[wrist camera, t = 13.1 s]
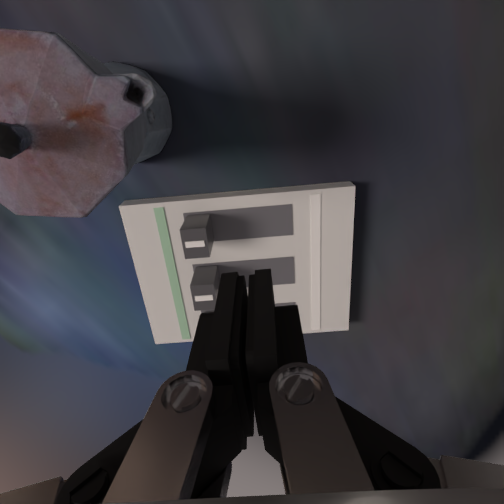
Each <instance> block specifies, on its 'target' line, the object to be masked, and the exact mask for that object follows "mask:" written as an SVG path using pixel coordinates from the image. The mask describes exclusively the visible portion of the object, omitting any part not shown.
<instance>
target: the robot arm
mask: <svg viewBox="0 0 504 504" xmlns="http://www.w3.org/2000/svg"><path fill="white" fill-rule="evenodd" d="M254 411H255V417H256V422H257V428H258V434H259V436H263V440H264V446H265V450H266V451H267V452H268V453H269V454H270V455H271V456H272V457H274V459H276V460H277V461H278V462H279V463H280V469H281V474H282V479H283V484H284V489H285V494H286V495H268V496H247V497H226V496H227V491H228V486H229V481H230V477H231V471H232V462H231V461H232V460H233V459H234V458H235V457H236V456H237V455H238V454H239V453H240V452H241V450H243V449H244V450H245V449H246V448H247V437H250V436H253V434H254ZM0 504H504V465H498V464H492V463H486V462H480V461H474V460H468V459H462V458H456V457H450V456H444V455H441V457H440V460H439V459H433V458H427V457H426V456H425V455H424V454H423V453H421V452H420V451H419V450H418V449H417V448H415V447H414V446H412V445H410V444H409V443H407V442H406V441H404V440H403V439H401V438H399V437H398V436H396V435H395V434H393V433H392V432H390V431H388V430H387V429H385V428H384V427H382V426H381V425H379V424H377V423H376V422H374V421H373V420H371V419H370V418H368V417H366V416H365V415H363V414H362V413H360V412H359V411H357V410H356V409H354V408H352V407H351V406H349V405H348V404H346V403H345V402H343V401H341V400H340V399H338V398H337V397H335V396H334V393H333V391H332V389H331V386H330V384H329V382H328V379H327V378H326V376H325V375H324V373H323V372H322V371H321V370H320V369H318V368H317V367H315V366H313V365H311V364H308V362H307V356H306V350H305V344H304V339H303V333H302V327H301V321H300V315H299V310H298V305H287V306H275V301H274V292H273V283H272V274H271V269H260V270H255V274H252V275H249V285H248V294H247V287H246V281H245V276H244V275H242V276H239V274H238V272H229V273H222V274H221V278H220V284H219V289H218V294H217V299H216V305H215V310H214V312H208V313H201V314H200V316H199V320H198V324H197V328H196V332H195V336H194V340H193V344H192V348H191V352H190V356H189V360H188V364H187V368H186V371H183V372H180V373H177V374H175V375H173V376H172V377H170V378H168V379H167V380H166V381H165V382H164V383H163V384H162V385H161V387H160V388H159V389H158V391H157V393H156V395H155V397H154V399H153V401H152V403H151V405H150V407H149V409H148V411H147V413H146V415H145V417H144V419H143V420H142V421H140V422H139V423H138V424H136V425H135V426H134V427H132V428H131V429H130V430H128V431H127V432H126V433H124V434H123V435H122V436H120V437H119V438H118V439H116V440H115V441H114V442H112V443H111V444H110V445H108V446H107V447H106V448H105V449H103V450H102V451H101V452H99V453H98V454H97V455H95V456H94V457H93V458H91V459H90V460H89V461H87V462H86V463H85V464H84V465H82V466H81V467H80V468H79V469H77V470H76V471H75V472H74V473H73V474H72V475H71V476H70V477H69V478H68V479H66V480H63V478H62V477H61V476H59V477H56V478H53V479H49V480H46V481H42V482H39V483H36V484H32V485H28V486H25V487H22V488H18V489H15V490H11V491H8V492H4V493H1V494H0Z"/></svg>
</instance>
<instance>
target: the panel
mask: <svg viewBox="0 0 504 504" xmlns="http://www.w3.org/2000/svg"><path fill="white" fill-rule="evenodd" d="M354 207H355V185H354V184H353V183H352V182H350V181H347V182H335V183H323V184H312V185H300V186H288V187H277V188H265V189H253V190H241V191H230V192H218V193H206V194H195V195H183V196H171V197H159V198H148V199H136V200H125V201H124V202H123V203H122V204H121V205H120V206H119V209H120V213H121V217H122V220H123V224H124V228H125V231H126V235H127V239H128V243H129V246H130V250H131V254H132V258H133V261H134V265H135V269H136V273H137V276H138V280H139V284H140V288H141V291H142V295H143V299H144V303H145V306H146V310H147V314H148V318H149V321H150V325H151V329H152V333H153V336H154V340H155V344H162V343H176V342H190V341H193V340H194V336H195V332H196V328H197V324H198V320H199V316H200V314H201V313H204V312H208V311H214V310H215V309H213V310H200V311H195V310H194V305H193V300H192V295H191V290H190V284H191V281H192V277H193V274H194V271H195V267H203V266H215V265H217V267H218V274H219V281H220V278H221V274H222V273H229V272H238V274H239V276H242V275H244V276H245V281H246V287H247V294H248V285H249V275H252V274H255V270H260V269H271V274H272V283H273V292H274V301H275V306H287V305H298V310H299V315H300V321H301V327H302V333H315V332H329V331H342V330H348V329H349V309H350V289H351V268H352V248H353V227H354ZM199 214H210V217H211V223H212V230H213V237H214V242H213V247H212V251H211V255H210V257H206V258H194V259H185V256H184V251H183V246H182V241H181V235H180V228H181V226H182V224H183V222H184V220H185V218H186V216H187V215H199Z"/></svg>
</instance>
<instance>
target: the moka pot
mask: <svg viewBox="0 0 504 504" xmlns="http://www.w3.org/2000/svg"><path fill="white" fill-rule="evenodd" d="M172 127H173V126H172V115H171V109H170V105H169V100H168V97H167V95H166V93H165V92H164V91H163V89H162V88H161V87H160V86H159V84H158V83H157V82H156V81H155V80H154V79H153V78H152V77H151V76H150V75H149V74H148V73H147V72H146V71H145V70H142V69H140V68H137V67H133V66H130V65H127V64H122V63H119V62H114V61H113V62H107V63H101V62H100V61H98V60H97V59H95V58H94V57H92V56H91V55H89V54H88V53H86V52H84V51H83V50H81V49H80V48H79V47H77V46H76V45H74V44H73V43H71V42H70V41H68V40H67V39H66V38H64V37H63V36H62V35H60V34H58V33H56V32H42V31H28V30H15V29H2V28H0V203H1V204H2V205H4V206H5V207H6V208H8V209H9V210H10V211H12V212H13V213H15V214H16V215H27V216H52V217H80V218H81V217H87V216H88V215H89V214H90V213H91V212H92V210H93V209H94V208H95V207H96V206H97V205H98V204H99V203H100V202H101V201H102V200H103V199H104V198H105V197H106V196H107V195H108V194H109V193H110V192H111V191H112V190H113V189H114V188H115V187H116V186H117V185H118V184H119V183H120V182H121V181H122V180H123V179H124V178H125V176H126V175H127V174H128V173H129V172H130V170H131V168H132V167H133V165H134V164H137V163H139V162H142V161H144V160H146V159H148V158H150V157H152V156H154V155H157V154H159V153H160V152H161V150H162V149H163V147H164V146H165V144H166V142H167V140H168V138H169V136H170V134H171V131H172Z"/></svg>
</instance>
